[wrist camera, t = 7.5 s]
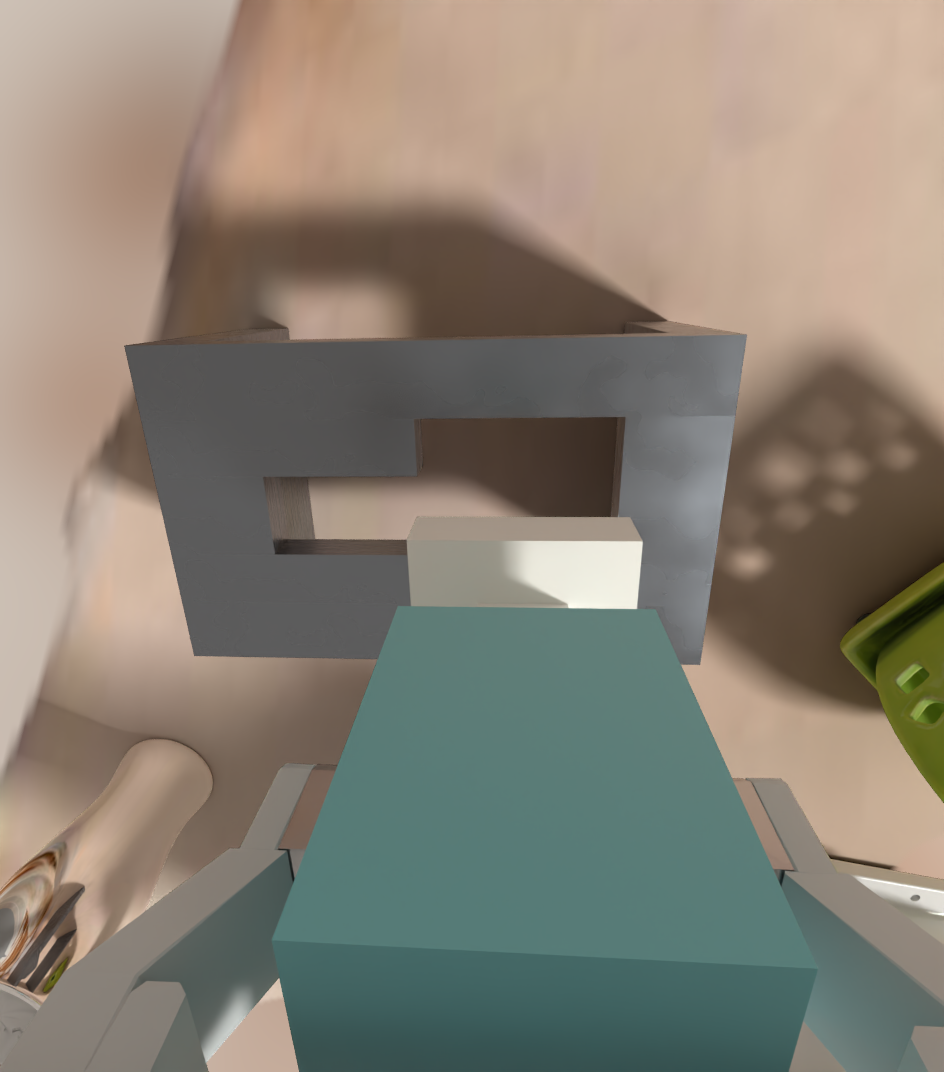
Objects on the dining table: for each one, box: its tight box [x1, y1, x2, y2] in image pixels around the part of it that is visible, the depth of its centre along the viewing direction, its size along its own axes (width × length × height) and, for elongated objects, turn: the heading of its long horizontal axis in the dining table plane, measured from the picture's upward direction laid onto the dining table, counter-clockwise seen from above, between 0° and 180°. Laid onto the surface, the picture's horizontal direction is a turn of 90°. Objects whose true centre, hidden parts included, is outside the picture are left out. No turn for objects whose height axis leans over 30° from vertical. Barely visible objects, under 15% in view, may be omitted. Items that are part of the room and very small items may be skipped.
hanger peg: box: [272, 517, 818, 1072], centre depth 10 cm, size 5×5×10 cm
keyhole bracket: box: [124, 321, 747, 665], centre depth 26 cm, size 20×12×10 cm, turn 91°
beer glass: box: [0, 739, 213, 1066], centre depth 33 cm, size 7×7×15 cm
